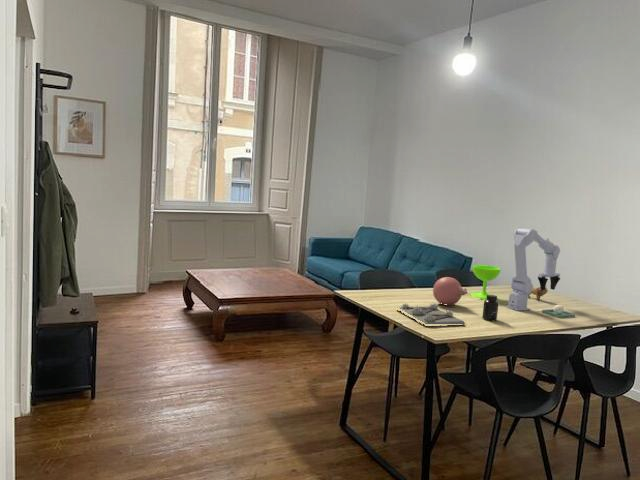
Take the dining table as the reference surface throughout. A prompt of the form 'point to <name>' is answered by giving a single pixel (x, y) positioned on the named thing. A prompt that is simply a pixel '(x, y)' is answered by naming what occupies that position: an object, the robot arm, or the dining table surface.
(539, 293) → the lion figurine
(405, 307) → the grey bumpy flat slab
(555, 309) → the ball
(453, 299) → the balloon
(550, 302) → the dining table surface
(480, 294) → the wineglass
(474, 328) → the dining table surface
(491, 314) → the supplement bottle
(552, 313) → the tray
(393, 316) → the dining table surface
